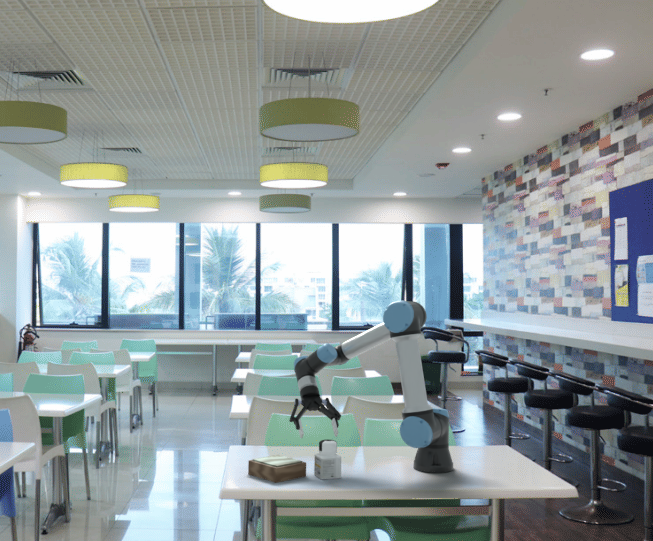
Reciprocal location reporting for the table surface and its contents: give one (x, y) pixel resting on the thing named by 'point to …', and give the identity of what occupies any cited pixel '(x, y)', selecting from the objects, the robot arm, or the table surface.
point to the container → (327, 461)
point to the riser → (277, 468)
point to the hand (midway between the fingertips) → (319, 435)
